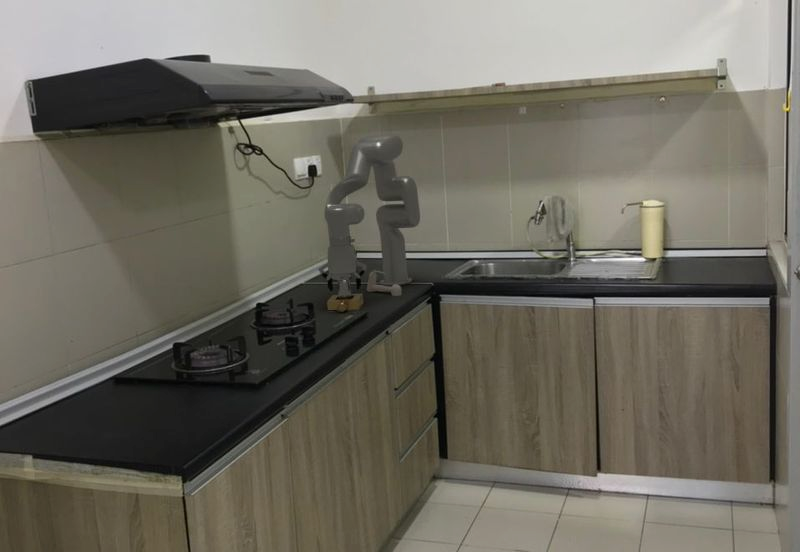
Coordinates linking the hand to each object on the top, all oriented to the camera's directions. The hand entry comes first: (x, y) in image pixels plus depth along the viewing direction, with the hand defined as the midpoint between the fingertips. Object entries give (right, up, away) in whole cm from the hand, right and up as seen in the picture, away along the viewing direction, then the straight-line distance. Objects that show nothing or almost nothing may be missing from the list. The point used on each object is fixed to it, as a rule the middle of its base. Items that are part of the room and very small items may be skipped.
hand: (345, 289), depth 302 cm
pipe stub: (0, -6, +1) cm, 6 cm away
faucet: (+13, -2, +21) cm, 25 cm away
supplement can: (-5, +3, +59) cm, 59 cm away
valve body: (0, -6, +1) cm, 6 cm away
